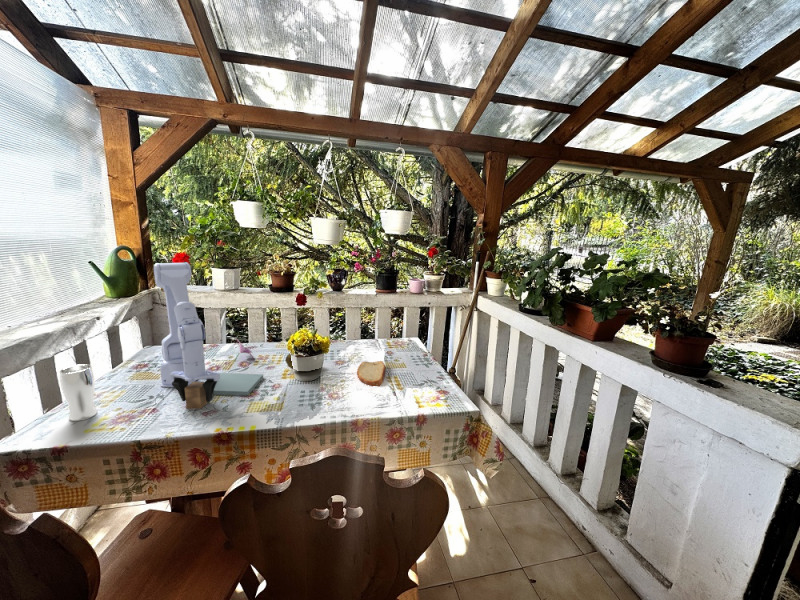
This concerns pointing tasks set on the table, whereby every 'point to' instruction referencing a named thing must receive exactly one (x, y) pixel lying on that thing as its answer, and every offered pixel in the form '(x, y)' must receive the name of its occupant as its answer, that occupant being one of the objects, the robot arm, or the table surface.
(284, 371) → the table surface
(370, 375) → the slice of bread
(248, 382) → the slate board
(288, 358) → the potato
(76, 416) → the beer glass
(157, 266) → the robot arm
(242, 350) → the lily
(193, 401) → the walnut block
